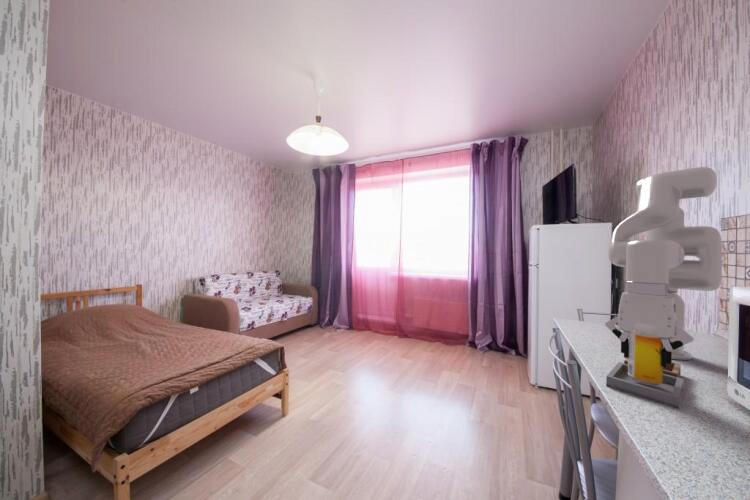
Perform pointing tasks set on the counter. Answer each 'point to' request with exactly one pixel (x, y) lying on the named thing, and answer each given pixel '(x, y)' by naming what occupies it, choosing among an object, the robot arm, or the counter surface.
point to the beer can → (645, 355)
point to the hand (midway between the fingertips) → (645, 360)
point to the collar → (668, 369)
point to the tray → (647, 386)
